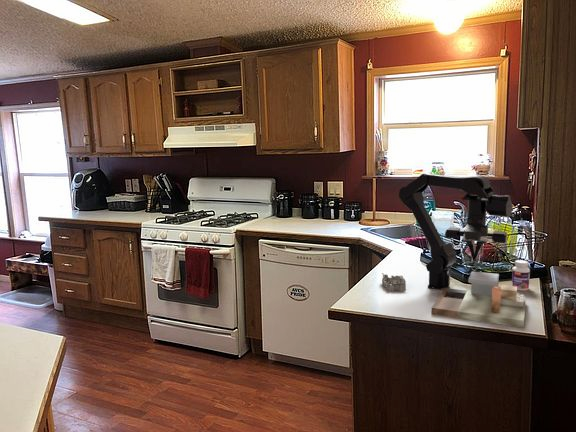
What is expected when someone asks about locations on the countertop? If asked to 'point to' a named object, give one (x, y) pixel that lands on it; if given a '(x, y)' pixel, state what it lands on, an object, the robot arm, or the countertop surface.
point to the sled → (503, 300)
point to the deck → (476, 308)
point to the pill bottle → (521, 275)
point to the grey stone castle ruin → (394, 282)
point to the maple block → (508, 292)
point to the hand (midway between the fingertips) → (474, 259)
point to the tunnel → (483, 282)
